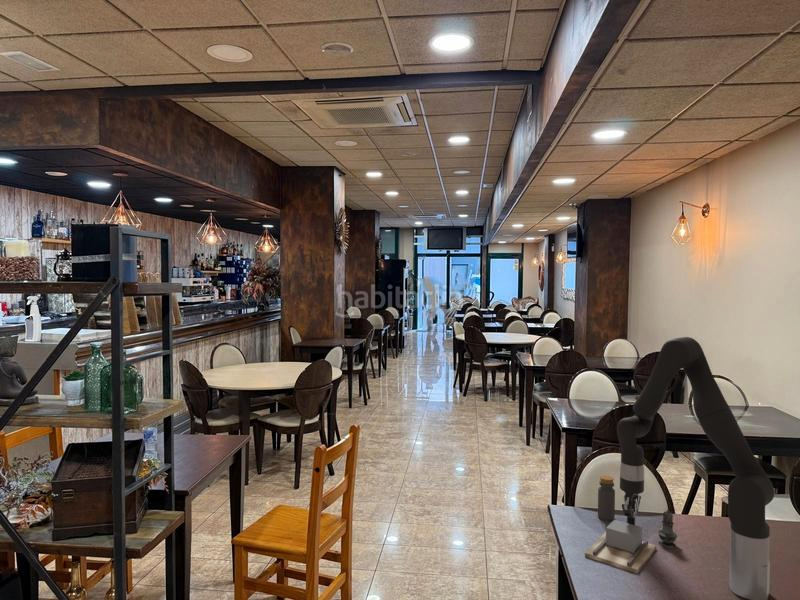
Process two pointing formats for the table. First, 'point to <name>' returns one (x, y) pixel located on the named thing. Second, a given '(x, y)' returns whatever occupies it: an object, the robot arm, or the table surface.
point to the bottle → (606, 499)
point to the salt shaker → (667, 531)
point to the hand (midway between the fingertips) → (631, 527)
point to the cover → (624, 536)
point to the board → (620, 555)
